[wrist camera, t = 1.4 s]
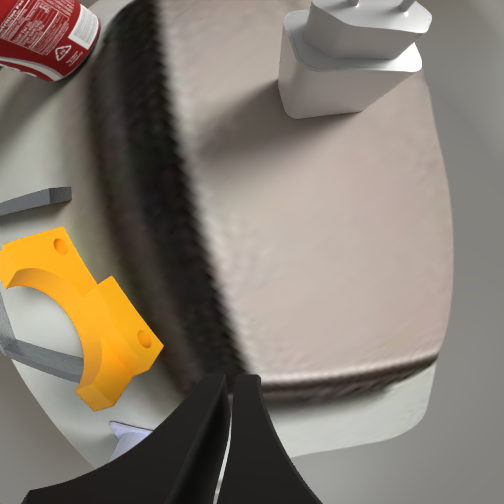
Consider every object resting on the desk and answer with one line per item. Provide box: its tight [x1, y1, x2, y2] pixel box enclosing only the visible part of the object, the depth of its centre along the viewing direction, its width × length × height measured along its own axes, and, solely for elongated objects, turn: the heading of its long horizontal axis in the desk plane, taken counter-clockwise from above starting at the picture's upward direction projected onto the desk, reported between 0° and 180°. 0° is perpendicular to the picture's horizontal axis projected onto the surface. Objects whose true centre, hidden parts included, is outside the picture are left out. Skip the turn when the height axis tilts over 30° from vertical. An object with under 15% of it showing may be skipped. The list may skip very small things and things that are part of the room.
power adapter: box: [278, 0, 432, 119], centre depth 8 cm, size 3×5×12 cm, turn 102°
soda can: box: [0, 0, 101, 82], centre depth 8 cm, size 7×7×12 cm
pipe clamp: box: [0, 227, 163, 412], centre depth 15 cm, size 12×4×6 cm, turn 33°
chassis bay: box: [0, 187, 84, 383], centre depth 17 cm, size 16×16×2 cm
